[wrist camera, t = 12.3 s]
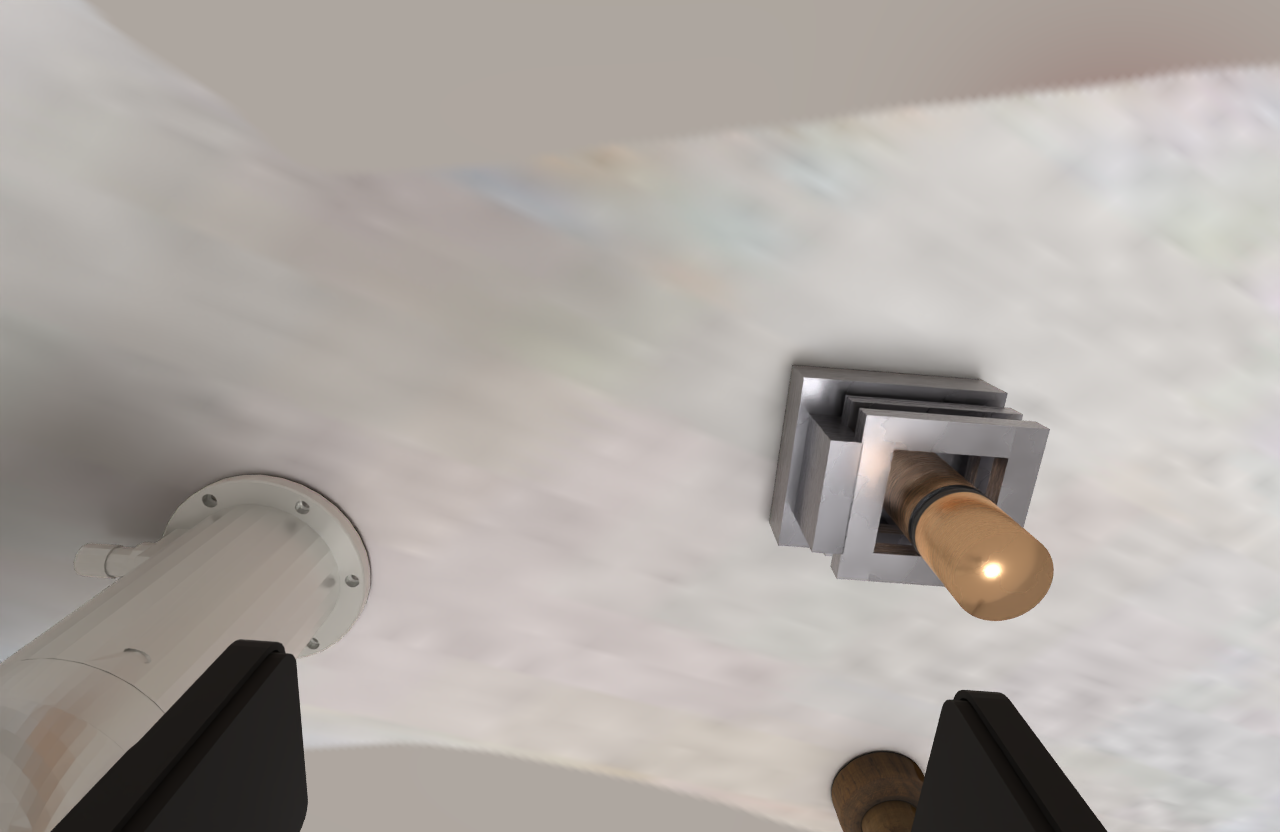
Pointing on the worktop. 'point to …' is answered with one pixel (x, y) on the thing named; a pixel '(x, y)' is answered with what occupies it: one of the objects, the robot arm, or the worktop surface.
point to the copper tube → (966, 538)
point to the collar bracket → (862, 454)
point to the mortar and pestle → (877, 793)
